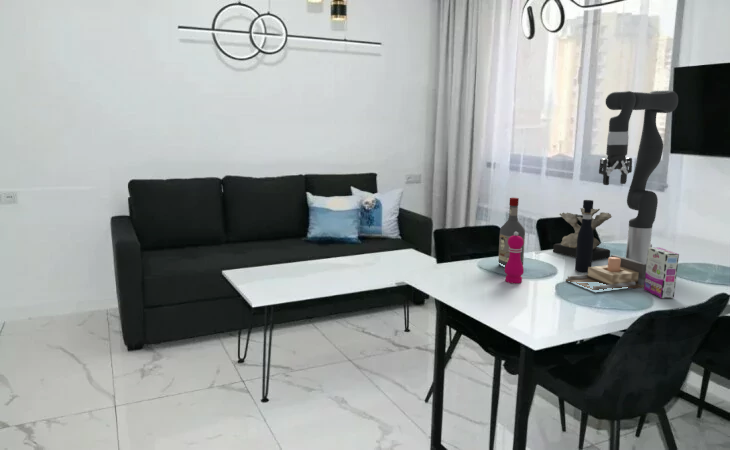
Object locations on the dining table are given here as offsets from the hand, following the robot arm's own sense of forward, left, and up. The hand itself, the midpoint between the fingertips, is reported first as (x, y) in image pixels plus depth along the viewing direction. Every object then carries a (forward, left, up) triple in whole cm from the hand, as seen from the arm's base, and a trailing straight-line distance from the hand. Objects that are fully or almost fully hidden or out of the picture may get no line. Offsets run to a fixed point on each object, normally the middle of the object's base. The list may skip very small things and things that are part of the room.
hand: (614, 184), depth 215 cm
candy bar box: (+1, +27, -38) cm, 46 cm away
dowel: (+7, +10, -35) cm, 38 cm away
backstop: (+11, +10, -37) cm, 40 cm away
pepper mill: (+42, -4, -38) cm, 56 cm away
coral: (-17, -35, -38) cm, 54 cm away
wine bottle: (+5, -9, -38) cm, 39 cm away
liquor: (+30, -25, -38) cm, 54 cm away
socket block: (+7, +11, -36) cm, 38 cm away
